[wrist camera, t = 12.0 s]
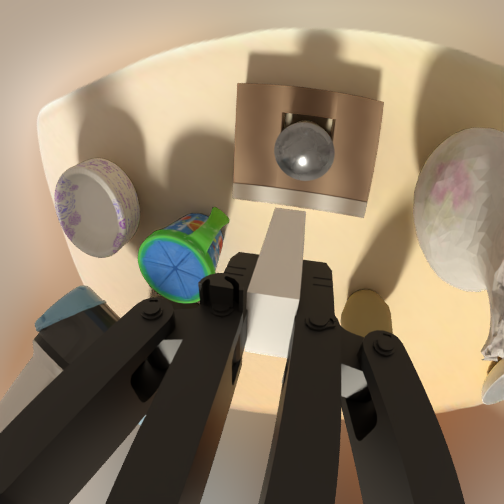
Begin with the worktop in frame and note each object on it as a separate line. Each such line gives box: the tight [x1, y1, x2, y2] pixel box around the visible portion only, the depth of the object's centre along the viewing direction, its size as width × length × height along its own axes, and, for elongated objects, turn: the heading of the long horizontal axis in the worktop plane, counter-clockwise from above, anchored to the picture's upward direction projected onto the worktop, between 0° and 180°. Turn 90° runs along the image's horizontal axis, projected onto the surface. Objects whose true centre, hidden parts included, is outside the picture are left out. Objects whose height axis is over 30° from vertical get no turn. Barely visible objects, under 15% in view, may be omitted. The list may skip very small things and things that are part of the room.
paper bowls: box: [55, 158, 140, 258], centre depth 38 cm, size 15×15×8 cm
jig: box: [233, 83, 384, 218], centre depth 30 cm, size 16×14×4 cm
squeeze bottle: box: [341, 290, 393, 337], centre depth 34 cm, size 8×8×18 cm
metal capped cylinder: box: [274, 120, 335, 181], centre depth 27 cm, size 5×5×11 cm
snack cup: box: [138, 207, 229, 303], centre depth 37 cm, size 16×10×10 cm
